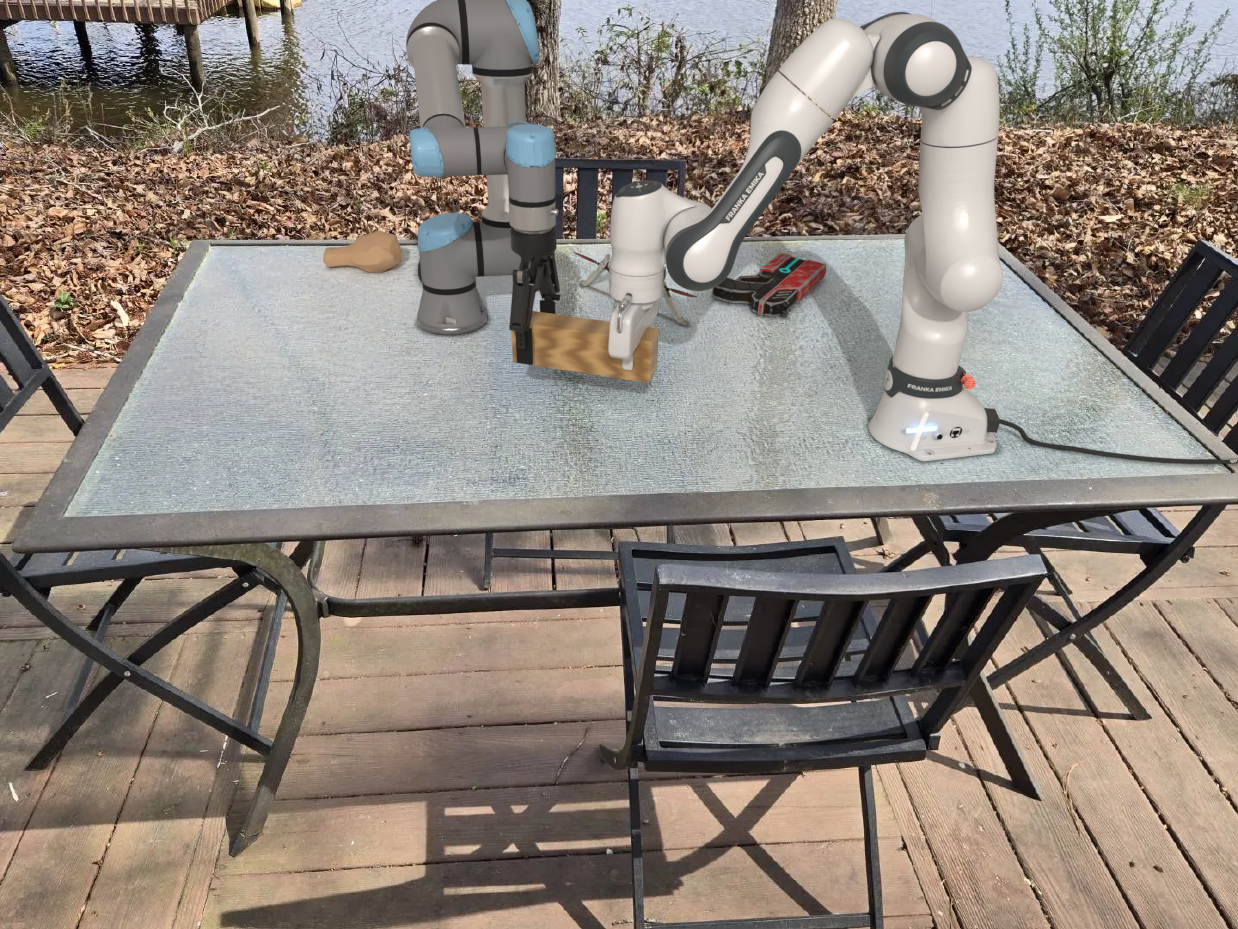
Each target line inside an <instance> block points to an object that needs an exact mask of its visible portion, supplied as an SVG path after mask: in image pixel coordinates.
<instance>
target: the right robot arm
mask: <svg viewBox="0 0 1238 929" xmlns="http://www.w3.org/2000/svg"><path fill="white" fill-rule="evenodd" d="M872 89H876V90H877V91H878V92H879V93H881V94H882V95H884V96H886V97H888V98H891V99H893V100H896V101H898V102H899V103H901V104H904V105H907V106H911V107H915V108H920V114H921V116H920V117H921V126H920V127H921V129H920V141H919V145H920V146H919V162H918V163H919V165H918V183H917V184H918V185H917V192H918V197H919V203H920V208H921V214H920V215H919V216H917V217H916V218H914V219H913V221H912V222H911V223H910V224H909V225H908V227H907V229H906V231H905V235H904V238H903V241H904V242H903V243H904V266H903V279H902V297H901V314H900V321H899V326H898V327H899V328H898V331H897V336H896V341H895V346H894V350H893V354H892V356H891V357H890V358H889V362H888V366H887V369H886V372H885V376H884V384H883V389H884V390H883V392H882V395H881V397H880V400H879V403H878V405H877V408H876V410H875V412H874V414H873V416H872V418H871V419H870V421H869V422H868V425H867V428H868V432H869V434H870V435H871V436H872V437H873V439H875V440H876V441H877V442H878V443H880V444H881V445H883V446H885V447H887V448H889V449H892V450H894V451H897V452H901V453H903V454H906V455H909V456H910V457H912V458H913V459H915V460H918V461H920V462H931V461H940V460H947V459H957V458H964V457H973V456H982V455H989V454H990V455H991V454H995V452H996V449H997V446H998V445H997V438H996V436H995V434H997V433H998V431H999V427H1000V425H1003V426H1005V427H1009V428H1012V429H1014V430H1015V431H1016V432H1018V433H1019V434H1020V436H1021V438H1022V439H1023V440H1024V441H1025V442H1027V443H1029V444H1031V445H1034V446H1036V447H1037V446H1038V447H1041V448H1047V449H1053V450H1061V451H1069V452H1070V451H1071V452H1077V453H1081V454H1088V455H1095V456H1100V457H1107V458H1115V459H1122V460H1130V461H1140V462H1151V463H1163V464H1179V465H1180V464H1182V465H1183V464H1184V465H1228V464H1230V465H1231V464H1232V465H1233V464H1234V463H1231V462H1230V460H1218V459H1219V458H1173V457H1171V458H1170V457H1156V456H1144V455H1136V454H1128V453H1127V454H1126V453H1119V452H1110V451H1104V450H1098V449H1092V448H1085V447H1079V446H1075V445H1067V444H1055V443H1047V442H1043V441H1039V440H1035V439H1033V438H1031V437H1029V435H1028V434H1027V433H1026V431H1025V429H1023V427H1021V426H1020V425H1018V424H1016V423H1014V422H1011V421H1009V420H1005V419H1002V418H1000V417H999V414H998V412H997V410H996V408H991V407H990V408H989V407H984V406H983V404H982V403H981V402H980V400H979V399H978V398H977V397H976V396H975V395H974V394H972V392H971V391H969V390H973V389H974V388H975V387H976V385H977V381H976V379H975V378H973V375H970V374H967V372H966V370H965V369H964V368H963V367H962V366H961V365H960V362H961V358H962V354H963V351H964V347H965V345H966V344H965V343H966V339H967V336H968V333H969V321H968V313H971V312H975V311H978V310H981V309H983V308H984V307H986V306H988V305H989V304H990V303H991V302H993V300H994V299H995V298H996V297H997V295H998V294H999V293H1000V290H1001V288H1002V285H1003V281H1004V275H1003V273H1004V272H1003V269H1002V264H1001V260H1000V255H999V244H998V243H999V242H998V241H999V240H998V224H997V223H998V222H997V213H996V212H997V211H996V200H995V180H996V167H997V166H996V165H997V154H998V144H999V134H1000V133H999V132H1000V117H1001V116H1000V115H1001V114H1000V113H1001V109H1000V106H1001V104H1000V88H999V78H998V72H997V70H996V68H995V66H993V64H992V63H990V62H989V61H987V59H983V58H980V57H977V56H970V55H969V56H967V54H966V52H965V50H964V48H963V45H962V43H961V41H960V39H959V37H958V36H957V35H956V34H955V32H954V31H953V30H952V29H951V28H949V26H946V25H945V24H944V23H940V22H938V21H937V20H935V19H933V18H931V17H929V16H927V15H923V14H918V13H915V14H914V13H910V12H907V11H906V12H905V11H894V12H890V13H886V14H884V15H881V16H879V17H877V18H875V19H873V20H871V21H869V22H867V23H865V24H862V25H858V24H856V23H855V22H854V21H852V20H848V19H845V18H839V17H838V18H836V17H835V18H831V19H828V20H827V21H824V22H823V23H822V24H821V25H819V26H818V28H816V29H815V30H814V31H812V33H811V34H810V35H808V36H807V38H805V39H804V40H803V41H802V42H801V44H800V45H798V46H797V48H796V49H795V50H794V51H793V52H792V53H791V54H790V55H789V56H788V57H787V58H786V60H785V61H784V62H783V63H782V65H781V66H780V67H779V68H778V70H776V72H775V73H774V74H773V76H772V77H771V78H770V80H769V81H768V83H767V84H766V86H765V87H764V89H763V90H762V92H761V93H760V95H759V97H758V99H757V101H756V103H755V104H754V106H753V109H752V111H751V113H750V114H751V115H750V129H749V130H750V134H749V144H748V148H747V152H746V156H745V159H744V161H743V163H742V166H741V167H740V169H739V171H738V172H737V173H736V175H735V176H734V178H733V179H732V181H731V182H730V183H729V185H728V186H727V187H726V189H725V191H724V192H723V193H722V194H721V196H720V197H719V198H718V200H717V201H716V202H715V204H714V205H713V207H711V206H710V205H709V204H708V203H705V202H703V201H698V200H692V199H689V198H686V197H683V196H682V195H679V194H676V193H674V192H673V191H671V190H670V189H669V188H667V187H666V186H665V185H664V184H663V183H661V182H660V181H656V180H649V179H647V180H646V179H645V180H637V181H633V182H630V183H627V184H626V185H624V186H622V187H621V188H620V189H619V190H618V191H617V192H615V195H614V197H613V201H612V206H611V211H610V221H609V222H610V223H609V242H610V246H611V256H610V262H609V265H608V266H609V272H608V273H609V275H608V295H609V294H610V295H609V296H610V297H611V298H612V299H614V300H616V304H617V305H616V307H615V308H614V310H613V311H612V313H611V316H610V320H609V322H610V329H609V344H608V352H609V355H610V357H613V358H618V359H622V368H623V369H624V370H632V369H633V367H634V364H635V363H634V362H635V358H634V356H633V353H634V351H635V349H636V348H637V346H638V344H639V343H640V341H641V338H642V337H643V335H644V333H645V332H646V330H647V329H648V327H651V325H652V323H653V321H654V320H655V318H656V317H657V315H658V314H657V313H659V309H660V304H661V298H662V297H663V295H662V294H663V282H664V281H665V280H666V277H667V274H668V275H669V277H670V278H671V279H672V281H673V282H674V283H675V284H676V285H678V286H679V287H681V288H682V289H684V290H688V291H692V292H704V291H708V290H711V289H712V290H713V288H714V287H716V286H718V285H719V284H721V283H722V282H723V281H724V280H725V279H726V278H727V277H728V278H729V275H730V274H731V272H732V270H733V267H734V264H735V261H736V258H737V255H738V252H739V249H740V247H741V245H742V243H743V241H744V240H745V238H746V237H747V235H748V234H749V232H751V230H752V229H753V227H754V225H755V224H756V223H757V222H758V220H759V219H760V218H761V216H762V215H763V214H764V212H765V211H766V209H767V208H768V207H769V205H770V204H771V203H772V201H773V200H774V199H775V198H776V196H777V194H778V193H779V192H780V190H782V187H783V186H784V185H785V183H786V182H787V181H788V179H789V177H790V176H791V174H793V172H794V171H795V169H797V167H798V165H799V164H800V163H801V161H802V160H803V158H804V157H806V155H807V154H808V152H809V151H811V149H812V148H813V147H814V146H815V144H816V143H817V142H818V141H819V140H820V139H821V137H822V136H823V135H824V134H825V133H826V131H827V130H828V129H830V126H832V124H833V123H834V121H836V120H837V119H838V117H839V115H840V114H841V113H842V112H843V110H845V108H846V107H847V105H848V104H849V102H851V101H853V100H854V99H855V98H856V97H857V96H859V95H860V94H862V93H863V92H865V91H868V90H872ZM1235 464H1238V460H1237V462H1236V463H1235Z"/></svg>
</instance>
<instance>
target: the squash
mask: <svg viewBox="0 0 1238 929" xmlns="http://www.w3.org/2000/svg"><path fill="white" fill-rule="evenodd" d="M402 254H403V249H402V246H400V244H399V239H398V236H397V235H396V234H392V233H391V232H390V233H389V232H387V231H383V230H376V231H374V232H371V233H367V234H362V235H359V237H357V238H355V240H354V241H353V242H352V243H350V244H348V245H346V246H337V247H335V246H334V247H333V246H332V247H330V246H329V247H325V248H324V251H323V255H322V262H323V263H324V264H325V265H326V267H328V268H334V267H341V266H342V267H343V266H349V267H355V268H358V269H360V270H362V271H364V272H368V273H384V272H386V271H388V270H389V269H391V268H394V267H395V266H398V265H399V264H400V263H402V256H403V255H402Z"/></svg>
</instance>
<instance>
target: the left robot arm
mask: <svg viewBox="0 0 1238 929" xmlns="http://www.w3.org/2000/svg"><path fill="white" fill-rule="evenodd" d="M405 46H406V56H407V60H408V62H409V64H410V65H411V67H412V68H413V72H414V80H415V90H416V99H417V100H416V101H417V109H418V110H417V111H418V118H419V128H413V129H411V130H410V132H409V145H410V156H411V163H412V164H411V165H412V171H413V173H414V174H415V175H416V176H418V177H421V178H422V177H423V178H437V179H440V178H451V177H468V176H486V189H487V205H486V207H485V208H484V209H483V210H481V220H480V221H473V218H472V217H471V216H470V215H469V214H468V213H464V212H462V213H461V212H448V213H442V214H441V213H440V214H437V215H434V216H431V217H430V218H427V219H426V220H424V221H423V222H421V224H419V226H418V229H417V234H416V233H414V231H413V230H412V229H411V228H410V227H408V226H406V227H403V228H402V233H403V232H408V233H409V234H410V235H411V236H412V237H413V238H414V239H415V240H416V241H417V247H416V248H417V250H418V252H419V253H418V255H419V260H418V264H417V278H418V279H419V281H420V283H421V284H422V292H421V297H420V302H419V305H418V310H417V315H416V318H417V325H418V326H419V328H420V329H421V330H423V331H424V332H427V333H430V334H433V335H440V336H459V335H465V334H469V333H473V332H476V331H477V330H480V329H481V328H483V327H484V326H485V325H486V323H487V320H488V316H487V310H486V306H485V304H484V302H483V299H482V298H481V295H480V293H479V291H478V288H477V278H483V277H484V278H485V277H501V276H502V277H503V276H504V277H505V276H512V290H511V291H512V292H511V302H510V313H509V314H510V315H509V325H508V328H509V331H511V330H512V331H515V332H516V355H517V363H516V364H521V365H529V366H533V365H532V364H533V342H532V328H530V323H531V317H532V311H534V305H535V299H536V293H537V292H538V291H539V294H540V298H541V299H540V300H539V312H544V313H551V314H557V313H556V301H557V302H559V301H561V297H562V296H561V294H559V293H560V292H561V288H560V287H561V286H560V281H559V274H558V269H557V262H556V253H555V252H556V251H557V247H558V245H557V240H558V238H557V229H556V227H555V226H556V224H557V216H558V215H559V213H560V211H559V209H558V208H557V207H556V206H557V204H556V203H557V202H556V201H557V200H556V198H557V197H556V196H557V195H556V156H557V148H556V142H555V133H554V131H553V129H552V128H550V127H548V126H545V125H542V124H537V123H536V124H533V123H529V122H528V121H527V117H526V116H527V115H526V91H525V90H526V88H525V87H526V86H525V85H526V82H527V81H528V79H530V77H531V76H532V75H533V73H532V65H533V66H535V65H537V64H539V63H540V45H539V37H538V32H537V26H536V21H535V17H534V12H533V10H532V6H531V4H530V3H529V1H527V0H434V1H432V2H431V3H429V4H427V5H426V6H425V7H424V8H422V10H420V12H419V13H418V14H417V15H416V16H415V17H414V19H413V21H412V23H411V24H410V26H409V28H408V31H407V34H406V41H405ZM458 65H465V66H466V65H471V74H472V76H473V77H474V78H475V79H476V80H477V81H478V82H479V84H480V90H481V91H480V92H481V108H482V109H481V110H482V123H483V126H467V127H466V121H465V114H464V107H463V101H462V94H461V88H460V87H461V86H460V81H459V74H458V69H457V68H458V67H457V66H458Z"/></svg>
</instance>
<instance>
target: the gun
mask: <svg viewBox="0 0 1238 929" xmlns="http://www.w3.org/2000/svg"><path fill="white" fill-rule="evenodd" d="M826 273H827V264H826V263H823V262H820V261H816V260H812V259H802V258H799V257H795V256H793V255H792V254H791V253H784V252H780V253H778V254H777V255H775V256H774V257H773V258H771V259H770V260H768V261H767V262H766V263H765V264H763V265H762V266H761V267H760V269H759V271H758V273H757V274H756V275H753V274H752V275H751V274H750V275H740V276H738V277H737V278H735V279H734V278H731V277H729V276H728V277H727V278H726V279H725V280H724V281H723V282H722V283H721V284H719V285H718V286H716V287H714V288H712V291H711V297H713V298H714V299H716V300H719V301H723V302H727V303H730V304H750V305H749V308H750V310H751V312H753V313H755V314H757V315H758V316H760V317H761V316H765V317H770V318H771V317H777V316H780V317H784V318H787V317H788V315H789V311H788V310H790V309H791V308H792V307H793V306H794V305H795V304H798V303H799V302H801V301H802V300H803V299H804V298H805V297H807V296H808V295H809V294H810V293H811V292H812V291H813V290H814V289H815V287H817V285H818V284H820V283H821V282H822V280H823V279H824V278H825V276H826Z"/></svg>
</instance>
